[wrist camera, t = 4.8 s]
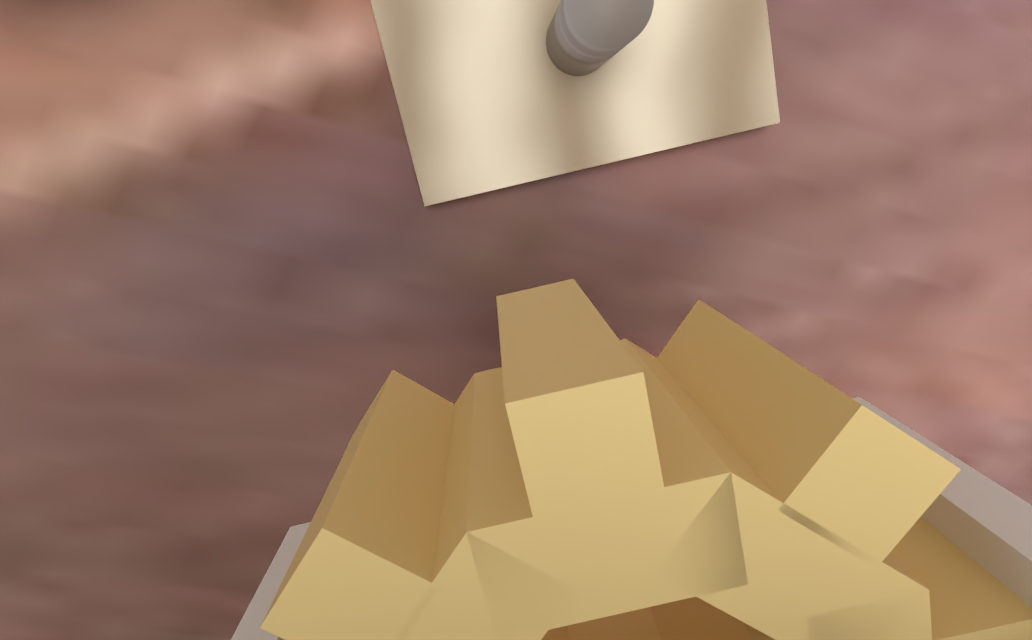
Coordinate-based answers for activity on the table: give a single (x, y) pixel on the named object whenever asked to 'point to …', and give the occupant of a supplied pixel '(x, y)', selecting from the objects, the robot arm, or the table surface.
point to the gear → (633, 502)
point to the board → (568, 83)
